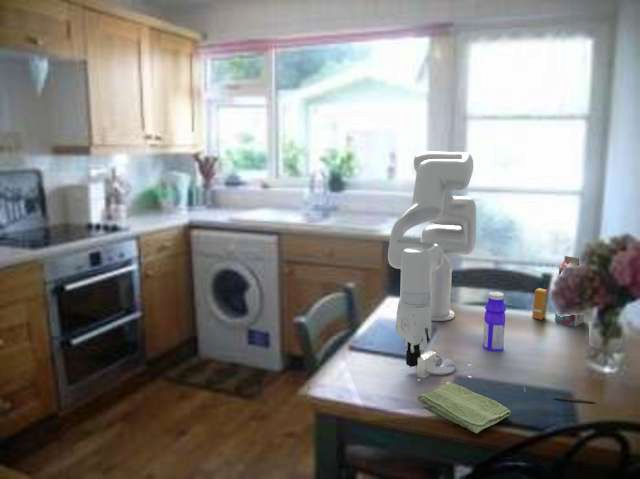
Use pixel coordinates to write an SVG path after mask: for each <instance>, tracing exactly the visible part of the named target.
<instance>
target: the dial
mask: <svg viewBox="0 0 640 479" xmlns="http://www.w3.org/2000/svg"><path fill="white" fill-rule="evenodd" d="M415 367H416V368H417V369H416V370H417V373H416V376H417V377H418V378H420V379H426V378H427V377H429V376H430V375H432V376H447V375H451V374H453V373H454V372H455V371H456V363H455V362H454V361H453V360H452V359H450V358H447V357H445V356H441V355H437V352H435V351H433V350H428V351H426V352H425V353H423V354H420V357H418V366H415Z"/></svg>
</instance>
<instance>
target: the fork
mask: <svg viewBox="0 0 640 479" xmlns="http://www.w3.org/2000/svg"><path fill="white" fill-rule="evenodd" d="M523 392H524V393H527V391H526V387H525V386H523ZM557 399H561V400H560V401H562V400H567V401H566V402H569V401H572V402H571V403H583V404H597V402H595V401H591V400H585V399H579V398H571V397H557V398H556V397H555V398H554V397H553V398H552V400H557Z"/></svg>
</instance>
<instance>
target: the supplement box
mask: <svg viewBox="0 0 640 479" xmlns="http://www.w3.org/2000/svg"><path fill="white" fill-rule="evenodd" d="M533 298H534V299H533V306H532V315H531V318H532V319H536V320H541V321H542V320H543V319H545V316H546V309H547V308H546V307H547V301H548V289H545V288H541V287H538V288H536V289H535V290H534V297H533Z"/></svg>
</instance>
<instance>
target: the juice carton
mask: <svg viewBox="0 0 640 479" xmlns="http://www.w3.org/2000/svg"><path fill="white" fill-rule="evenodd" d="M579 259H580V257H576V256H575V257H574V256H568V255H564V258H563V261H562V263H561V264H560V266H559V269H558V276H559V275H560V274H561V272H562V271H563V270H564V269H565V268H568V267H576V266H578V265H579ZM584 321H585V314H584V315H571V316H563V317H560V316H558V315H557V314H556V312H555V314H554V322H555V323H559V324H563V325H566V326H570V327H578V326H580V324H583V323H584Z"/></svg>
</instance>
